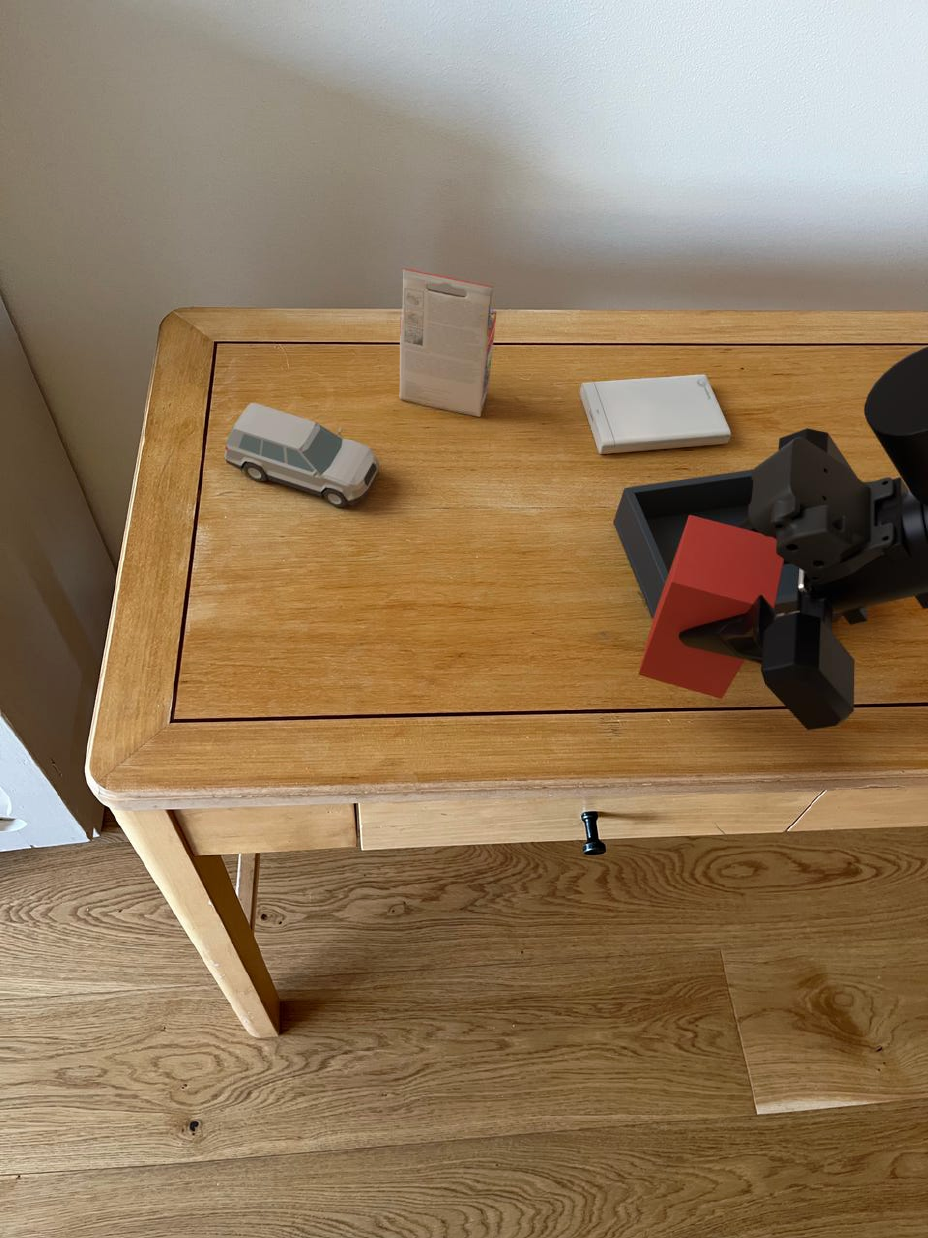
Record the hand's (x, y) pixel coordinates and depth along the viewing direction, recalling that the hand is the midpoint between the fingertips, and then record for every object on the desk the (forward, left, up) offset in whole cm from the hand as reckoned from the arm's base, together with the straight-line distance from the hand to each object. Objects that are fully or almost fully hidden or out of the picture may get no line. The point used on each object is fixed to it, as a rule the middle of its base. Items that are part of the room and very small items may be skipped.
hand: (686, 602), depth 60 cm
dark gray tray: (-11, -10, -13) cm, 20 cm away
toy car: (+22, -27, -13) cm, 38 cm away
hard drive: (-11, -28, -14) cm, 33 cm away
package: (-2, 0, -7) cm, 7 cm away
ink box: (+8, -34, -14) cm, 38 cm away
